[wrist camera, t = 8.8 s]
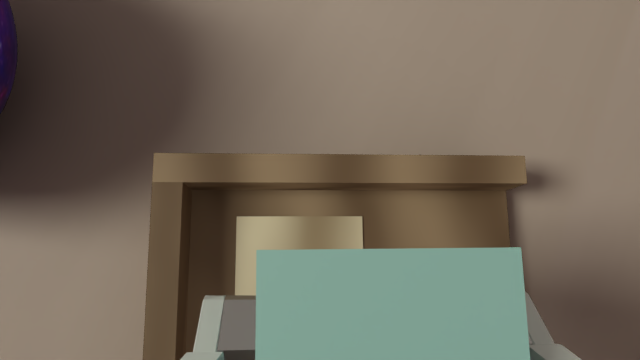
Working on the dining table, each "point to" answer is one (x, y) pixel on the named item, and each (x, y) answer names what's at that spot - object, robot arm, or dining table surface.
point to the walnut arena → (303, 219)
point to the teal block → (391, 304)
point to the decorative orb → (7, 51)
